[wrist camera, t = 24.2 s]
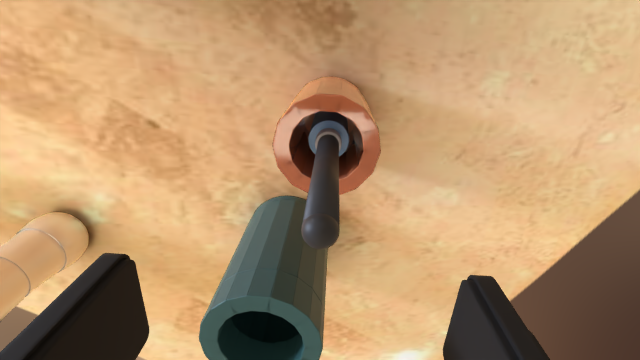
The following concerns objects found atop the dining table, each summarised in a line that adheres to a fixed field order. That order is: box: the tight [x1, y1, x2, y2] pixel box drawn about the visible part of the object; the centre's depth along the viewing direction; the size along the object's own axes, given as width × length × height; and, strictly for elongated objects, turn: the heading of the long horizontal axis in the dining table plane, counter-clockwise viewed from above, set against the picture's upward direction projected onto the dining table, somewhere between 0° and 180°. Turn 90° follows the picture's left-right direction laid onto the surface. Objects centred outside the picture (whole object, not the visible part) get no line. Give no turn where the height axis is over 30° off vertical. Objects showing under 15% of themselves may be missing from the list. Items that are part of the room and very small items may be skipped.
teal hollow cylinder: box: [199, 196, 328, 360], centre depth 32 cm, size 9×9×16 cm
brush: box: [301, 111, 349, 249], centre depth 23 cm, size 3×3×22 cm
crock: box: [273, 76, 381, 195], centre depth 29 cm, size 8×8×11 cm
